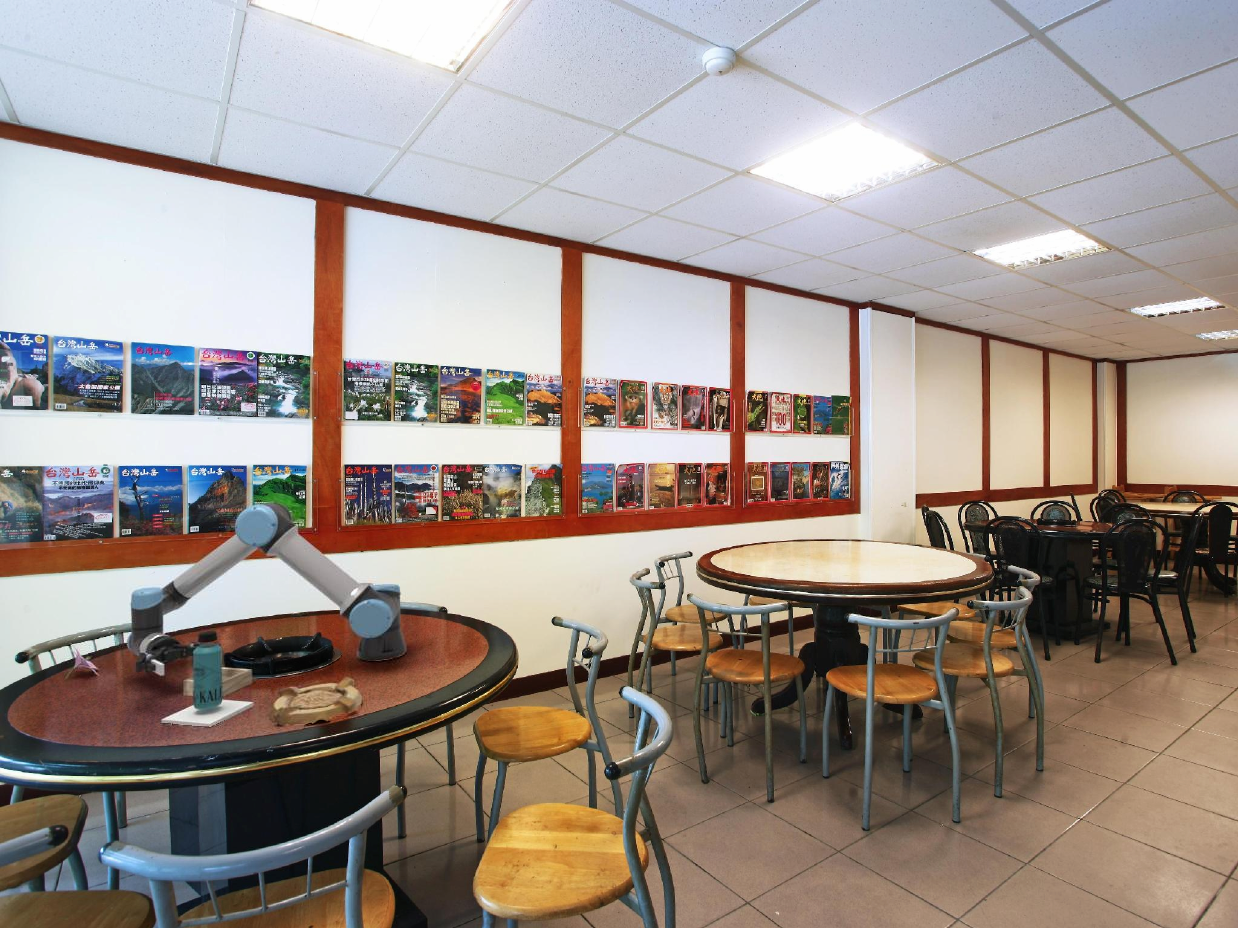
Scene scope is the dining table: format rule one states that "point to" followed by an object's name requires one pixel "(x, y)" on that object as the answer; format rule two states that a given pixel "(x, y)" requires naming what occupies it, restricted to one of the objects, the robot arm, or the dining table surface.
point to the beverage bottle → (207, 672)
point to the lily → (81, 662)
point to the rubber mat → (208, 714)
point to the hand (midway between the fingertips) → (192, 663)
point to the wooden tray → (226, 681)
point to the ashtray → (315, 703)
